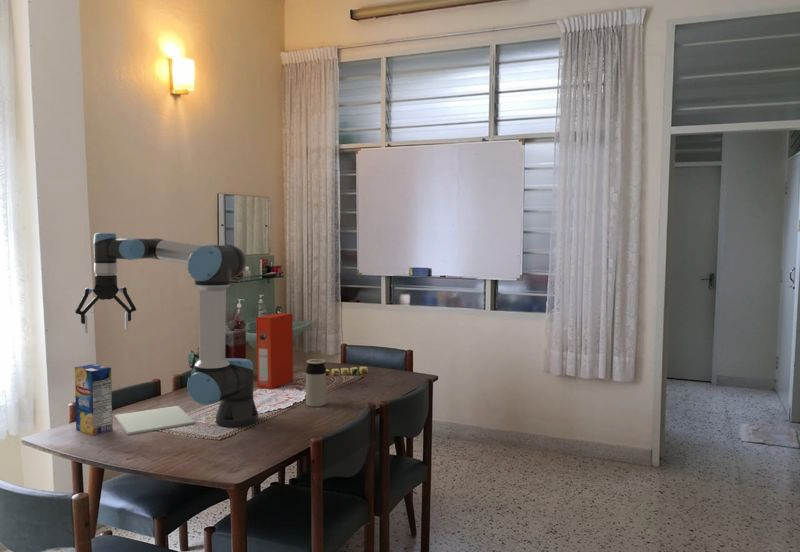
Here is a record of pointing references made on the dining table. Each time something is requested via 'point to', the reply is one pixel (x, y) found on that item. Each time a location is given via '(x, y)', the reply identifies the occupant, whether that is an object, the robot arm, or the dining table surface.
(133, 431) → the board
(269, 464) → the dining table surface
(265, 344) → the file binder
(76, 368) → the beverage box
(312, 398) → the travel mug
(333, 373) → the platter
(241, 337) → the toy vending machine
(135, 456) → the dining table surface
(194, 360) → the green animal figurine
